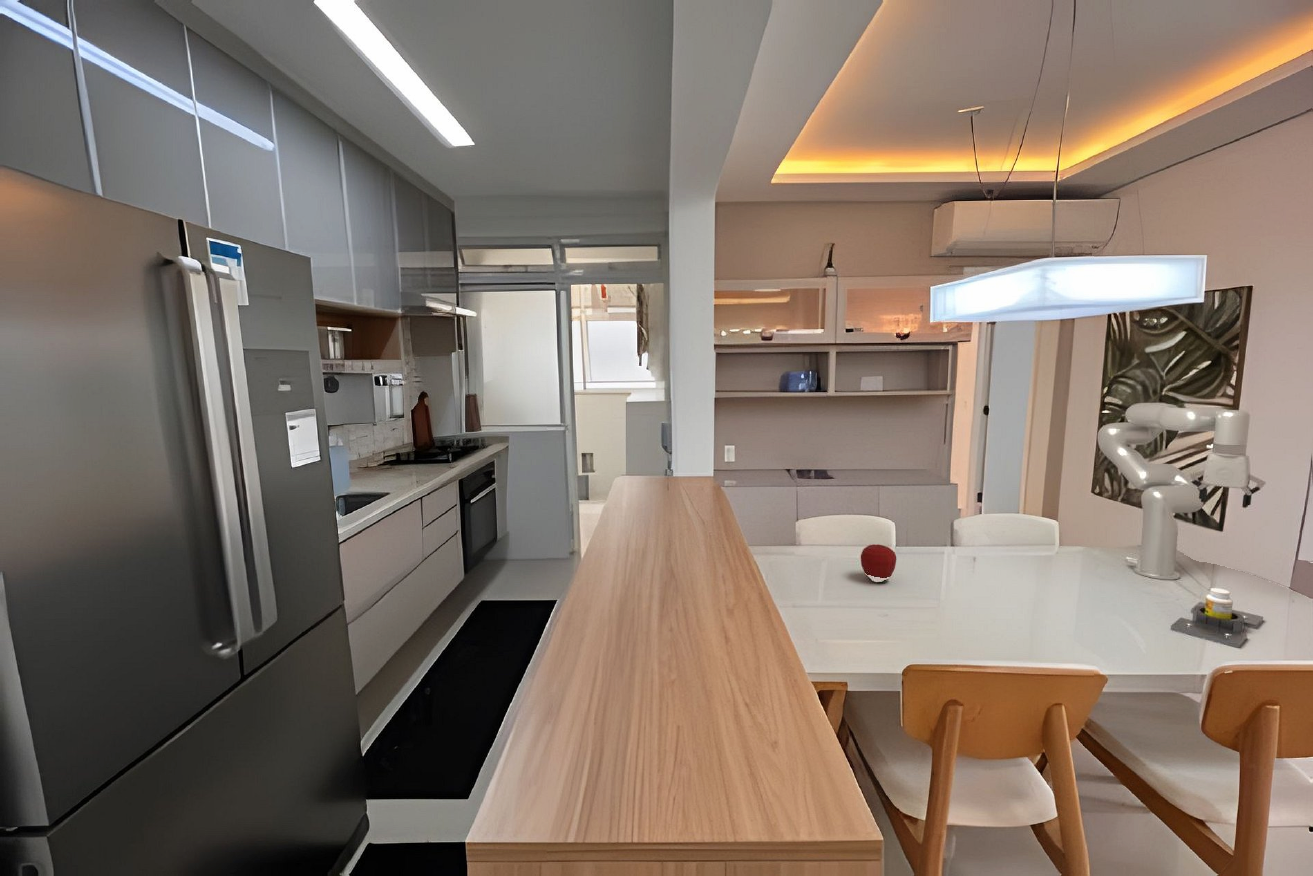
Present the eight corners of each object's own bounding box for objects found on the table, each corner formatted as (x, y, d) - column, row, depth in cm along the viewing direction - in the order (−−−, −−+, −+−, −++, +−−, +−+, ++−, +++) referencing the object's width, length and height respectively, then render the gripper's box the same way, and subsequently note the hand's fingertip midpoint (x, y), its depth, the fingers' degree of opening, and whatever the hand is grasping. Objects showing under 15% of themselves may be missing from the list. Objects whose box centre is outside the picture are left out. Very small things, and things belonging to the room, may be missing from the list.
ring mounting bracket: (1238, 648, 158) (1239, 635, 157) (1170, 629, 169) (1171, 617, 169) (1262, 620, 174) (1264, 609, 173) (1199, 605, 185) (1200, 594, 185)
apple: (901, 586, 204) (902, 548, 203) (866, 587, 205) (867, 549, 203) (888, 574, 216) (889, 538, 215) (855, 574, 217) (856, 539, 215)
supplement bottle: (1204, 619, 176) (1208, 585, 174) (1231, 624, 172) (1234, 590, 170) (1202, 625, 172) (1205, 590, 171) (1229, 631, 168) (1232, 595, 167)
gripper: (1189, 448, 190) (1184, 501, 193) (1265, 454, 176) (1259, 511, 179) (1196, 446, 195) (1191, 498, 197) (1271, 452, 181) (1265, 507, 183)
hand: (1223, 504), depth 188 cm, fingers open, 9 cm apart
